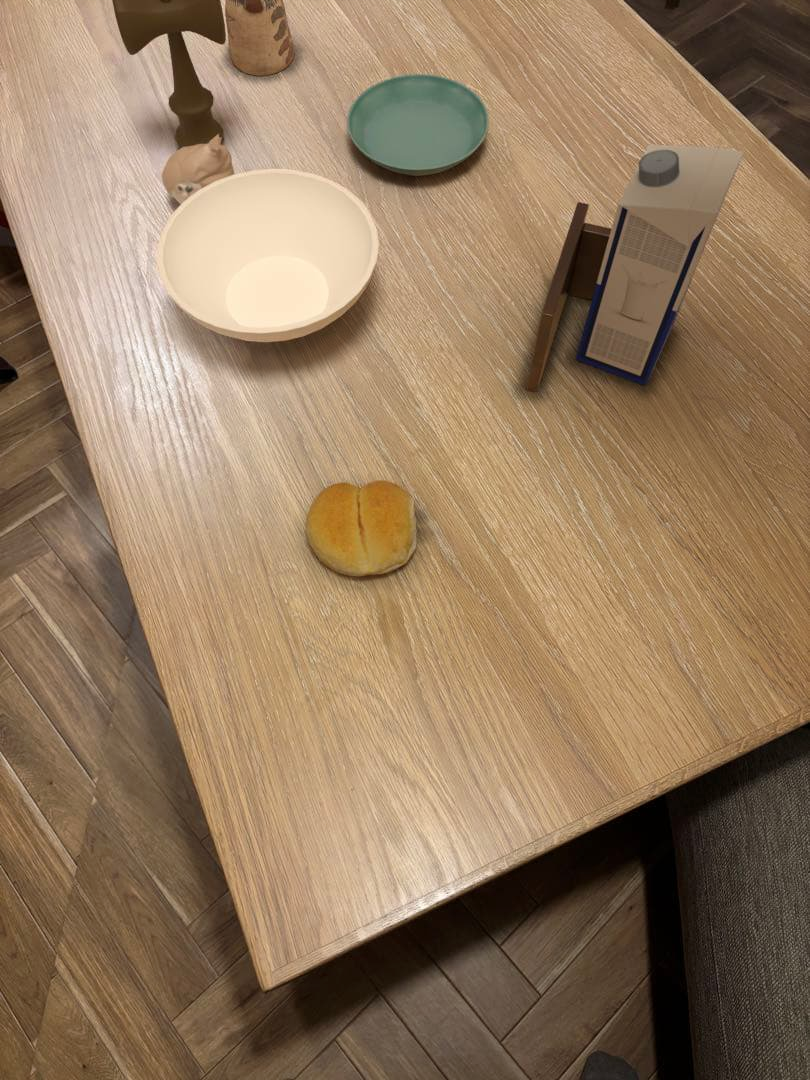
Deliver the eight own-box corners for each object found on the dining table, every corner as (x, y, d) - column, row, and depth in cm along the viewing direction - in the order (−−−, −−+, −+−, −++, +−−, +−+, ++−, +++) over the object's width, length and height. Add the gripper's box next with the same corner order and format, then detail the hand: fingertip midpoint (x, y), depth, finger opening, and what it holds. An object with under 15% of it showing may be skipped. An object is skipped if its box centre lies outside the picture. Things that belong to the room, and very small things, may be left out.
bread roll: (307, 493, 73) (302, 468, 69) (414, 489, 73) (414, 464, 69) (306, 583, 69) (301, 561, 65) (418, 579, 69) (419, 557, 65)
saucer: (410, 77, 97) (410, 55, 94) (514, 135, 92) (517, 113, 90) (319, 146, 92) (317, 124, 89) (426, 211, 87) (426, 190, 85)
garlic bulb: (205, 233, 86) (187, 166, 79) (159, 205, 88) (137, 137, 81) (250, 195, 88) (236, 126, 81) (204, 169, 90) (186, 99, 83)
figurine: (294, 35, 100) (280, -77, 89) (294, 75, 97) (280, -37, 86) (232, 38, 100) (211, -75, 89) (230, 78, 97) (208, -34, 86)
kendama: (250, 152, 91) (212, -48, 73) (158, 167, 90) (97, -32, 72) (241, 115, 94) (203, -87, 76) (152, 129, 93) (92, -72, 75)
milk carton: (645, 387, 77) (716, 211, 59) (574, 361, 79) (623, 181, 61) (670, 332, 80) (745, 147, 62) (601, 307, 82) (656, 120, 64)
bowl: (133, 300, 82) (111, 246, 76) (286, 196, 88) (277, 138, 82) (268, 420, 76) (256, 372, 70) (423, 299, 82) (424, 244, 76)
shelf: (663, 309, 81) (694, 227, 72) (636, 418, 76) (666, 344, 67) (559, 284, 83) (577, 201, 74) (525, 389, 77) (541, 313, 68)
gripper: (678, -448, 31) (591, 22, 46) (1200, -394, 29) (926, 86, 44) (711, -514, 34) (620, -54, 50) (1183, -471, 32) (933, 0, 47)
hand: (763, 11), depth 47 cm, fingers open, 9 cm apart
